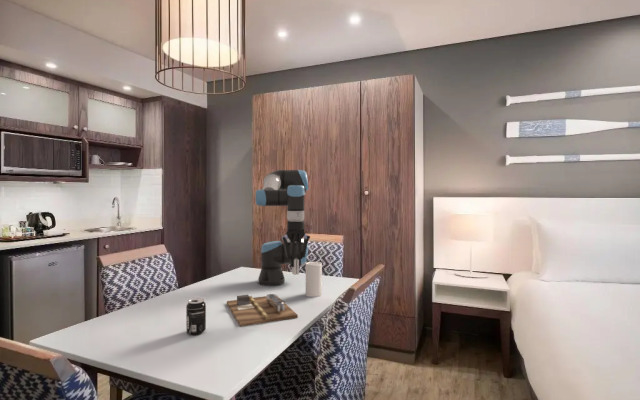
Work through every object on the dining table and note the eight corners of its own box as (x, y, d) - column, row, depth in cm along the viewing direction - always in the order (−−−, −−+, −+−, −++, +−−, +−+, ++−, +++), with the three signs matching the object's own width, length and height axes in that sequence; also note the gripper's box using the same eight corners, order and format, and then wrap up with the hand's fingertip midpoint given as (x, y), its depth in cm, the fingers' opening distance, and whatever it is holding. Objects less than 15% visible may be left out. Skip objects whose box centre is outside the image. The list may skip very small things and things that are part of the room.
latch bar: (265, 299, 161) (265, 293, 161) (274, 298, 162) (274, 292, 162) (276, 311, 145) (276, 304, 145) (286, 310, 147) (286, 303, 147)
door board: (226, 303, 163) (226, 292, 163) (276, 297, 173) (276, 287, 173) (239, 326, 136) (239, 313, 136) (297, 317, 146) (297, 305, 146)
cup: (322, 292, 182) (322, 261, 181) (320, 297, 174) (321, 265, 173) (306, 291, 183) (306, 261, 182) (304, 296, 174) (304, 264, 174)
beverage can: (190, 328, 134) (190, 297, 133) (208, 328, 133) (208, 297, 133) (183, 336, 127) (183, 303, 126) (201, 336, 127) (201, 303, 126)
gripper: (283, 221, 146) (283, 277, 147) (313, 220, 152) (313, 274, 153) (278, 220, 153) (278, 273, 154) (306, 219, 159) (306, 270, 160)
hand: (295, 273), depth 153 cm, fingers closed
